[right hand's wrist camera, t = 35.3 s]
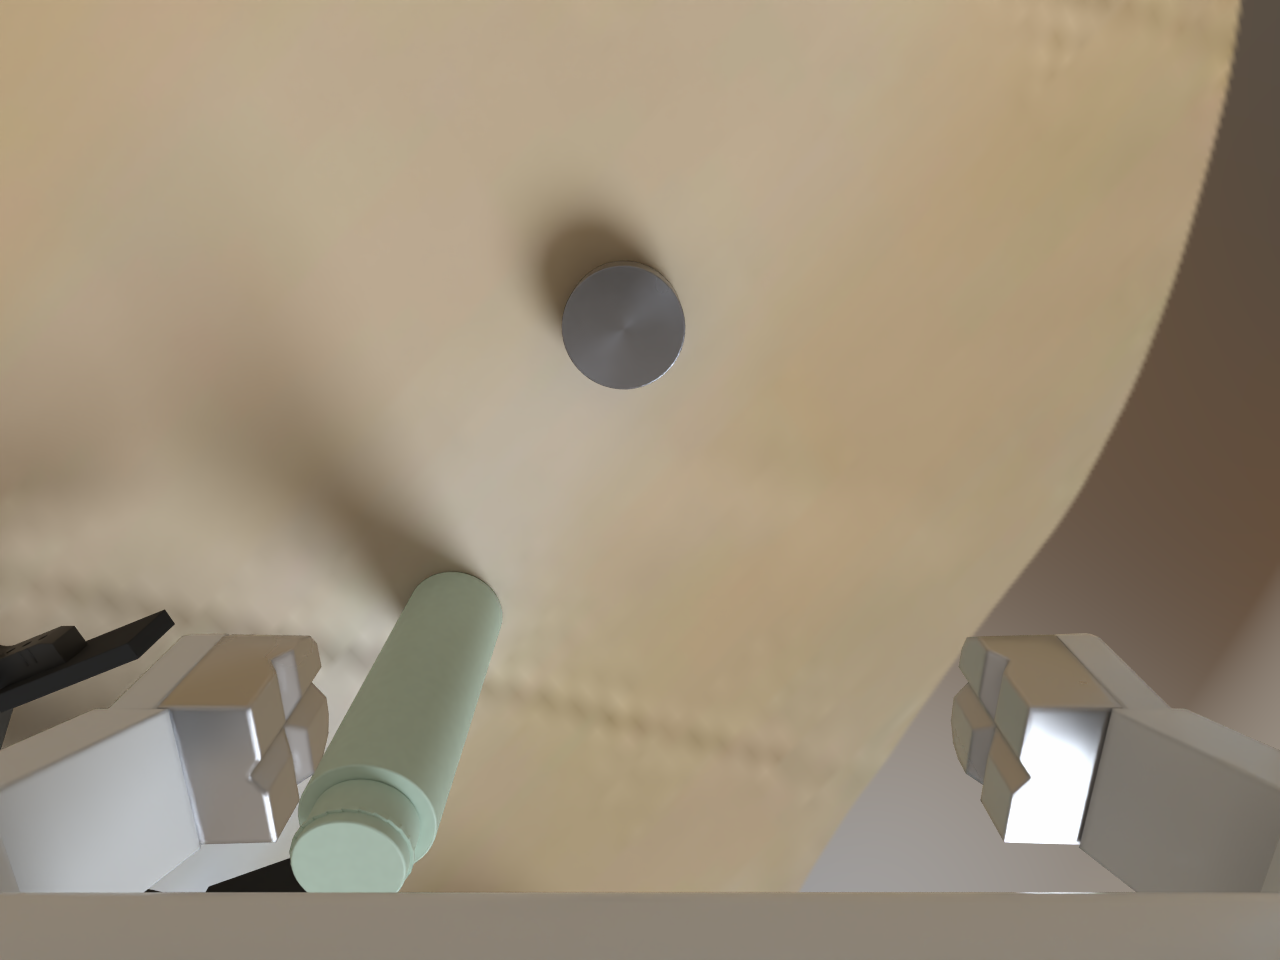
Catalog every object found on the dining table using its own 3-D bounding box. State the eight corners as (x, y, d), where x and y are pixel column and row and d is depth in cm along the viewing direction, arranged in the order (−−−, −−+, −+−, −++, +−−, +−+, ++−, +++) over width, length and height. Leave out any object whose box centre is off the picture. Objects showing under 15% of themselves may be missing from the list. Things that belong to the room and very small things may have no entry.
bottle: (407, 567, 40) (267, 803, 25) (503, 574, 40) (421, 812, 25) (409, 650, 41) (278, 918, 26) (501, 656, 42) (423, 926, 27)
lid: (549, 282, 35) (543, 289, 33) (662, 244, 35) (663, 248, 32) (588, 392, 37) (585, 404, 35) (696, 357, 36) (700, 368, 34)
